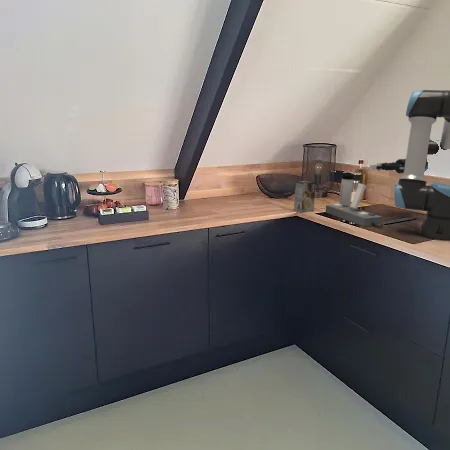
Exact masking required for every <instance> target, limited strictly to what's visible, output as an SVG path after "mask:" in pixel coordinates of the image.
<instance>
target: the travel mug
mask: <svg viewBox="0 0 450 450" xmlns="http://www.w3.org/2000/svg"><path fill="white" fill-rule="evenodd" d="M354 175H355V174H354V173H351V172H348V171H346V172H343V173H342V175H341V182H340V183H341V184H340V193H339V200H338V201H339V202H338V204H344V205H348V206H350V205H351V203H352V194H353V184H354Z"/></svg>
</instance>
